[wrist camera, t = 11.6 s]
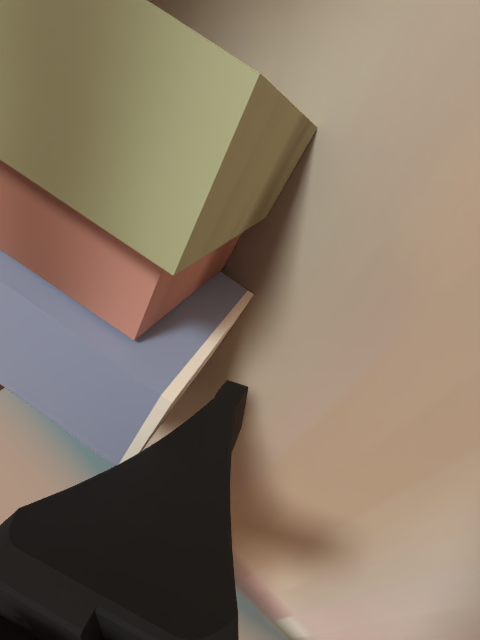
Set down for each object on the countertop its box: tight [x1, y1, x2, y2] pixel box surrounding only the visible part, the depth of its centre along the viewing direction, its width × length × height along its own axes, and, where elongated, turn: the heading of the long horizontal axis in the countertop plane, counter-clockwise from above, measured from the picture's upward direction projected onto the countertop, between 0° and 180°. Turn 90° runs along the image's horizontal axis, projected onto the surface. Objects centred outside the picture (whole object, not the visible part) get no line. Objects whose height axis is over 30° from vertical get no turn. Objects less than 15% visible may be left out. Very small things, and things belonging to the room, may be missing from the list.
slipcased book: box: [0, 250, 254, 466], centre depth 10 cm, size 7×4×6 cm, turn 59°
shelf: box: [0, 0, 317, 390], centre depth 10 cm, size 7×15×6 cm, turn 151°
